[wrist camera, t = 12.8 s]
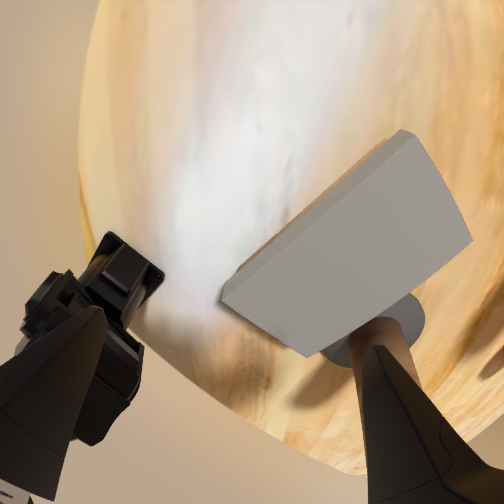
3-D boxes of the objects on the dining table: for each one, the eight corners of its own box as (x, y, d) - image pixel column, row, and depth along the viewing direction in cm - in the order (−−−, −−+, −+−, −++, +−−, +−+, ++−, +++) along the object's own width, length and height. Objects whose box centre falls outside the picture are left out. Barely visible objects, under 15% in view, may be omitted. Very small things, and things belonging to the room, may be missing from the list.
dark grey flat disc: (357, 373, 30) (358, 378, 29) (299, 333, 27) (299, 339, 26) (435, 325, 25) (438, 330, 24) (393, 268, 22) (396, 273, 21)
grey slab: (304, 321, 26) (306, 358, 22) (230, 264, 23) (220, 300, 19) (445, 213, 19) (473, 240, 15) (386, 124, 16) (415, 134, 12)
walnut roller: (365, 359, 27) (384, 469, 16) (337, 338, 26) (353, 466, 15) (408, 333, 25) (443, 445, 14) (385, 307, 23) (424, 439, 12)
